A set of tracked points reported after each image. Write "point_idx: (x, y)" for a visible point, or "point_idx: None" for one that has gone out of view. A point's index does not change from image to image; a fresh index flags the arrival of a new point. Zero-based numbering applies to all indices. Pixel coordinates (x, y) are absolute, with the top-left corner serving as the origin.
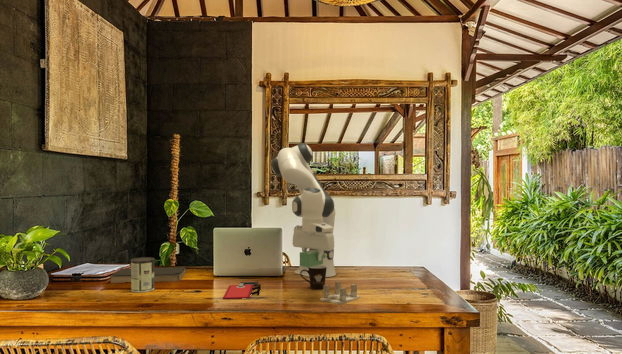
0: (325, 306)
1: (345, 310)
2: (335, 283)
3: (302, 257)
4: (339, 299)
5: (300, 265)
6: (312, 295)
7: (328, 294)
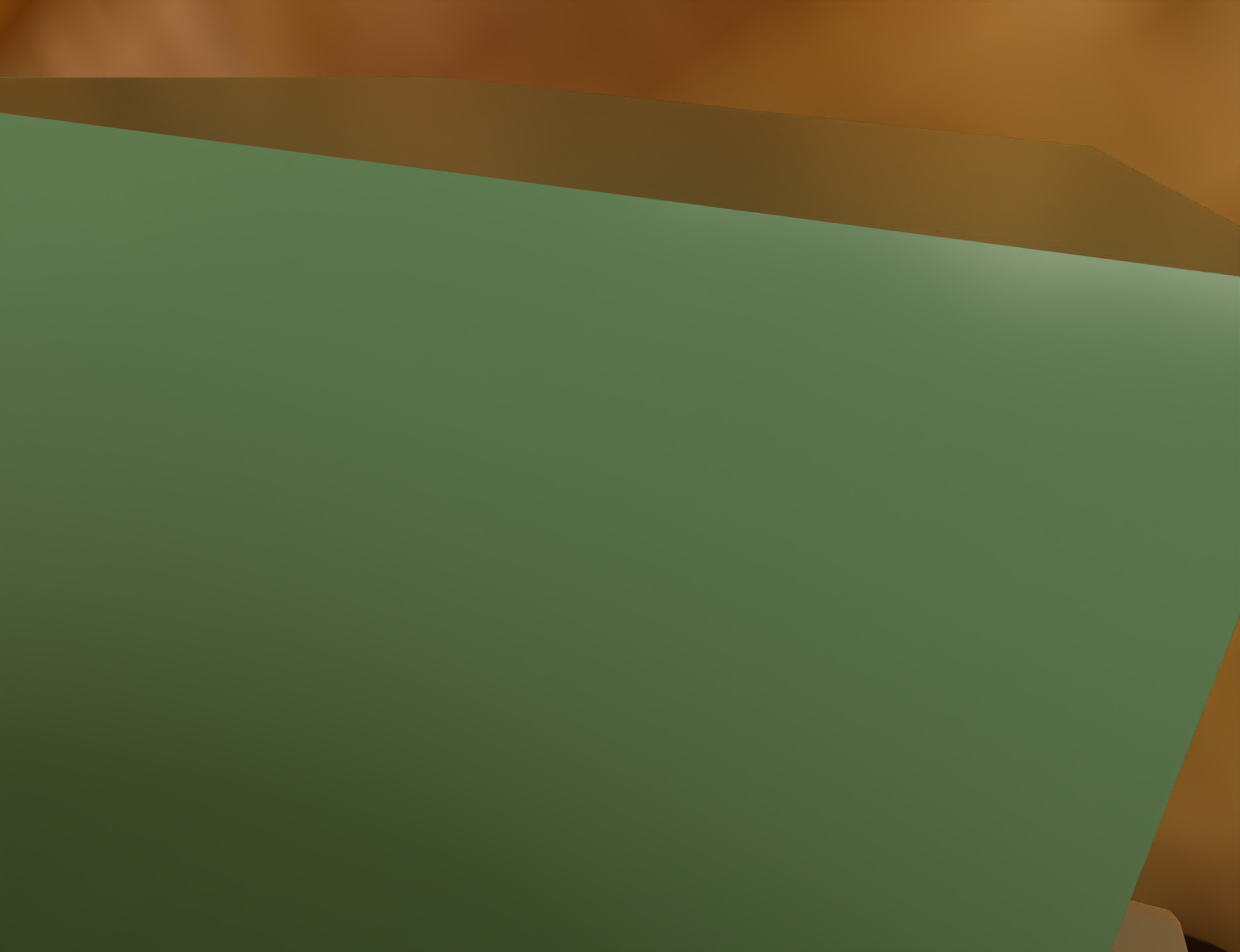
0: (428, 65)
1: (105, 50)
2: None
3: (820, 160)
4: None
5: (1033, 140)
6: None
7: None
